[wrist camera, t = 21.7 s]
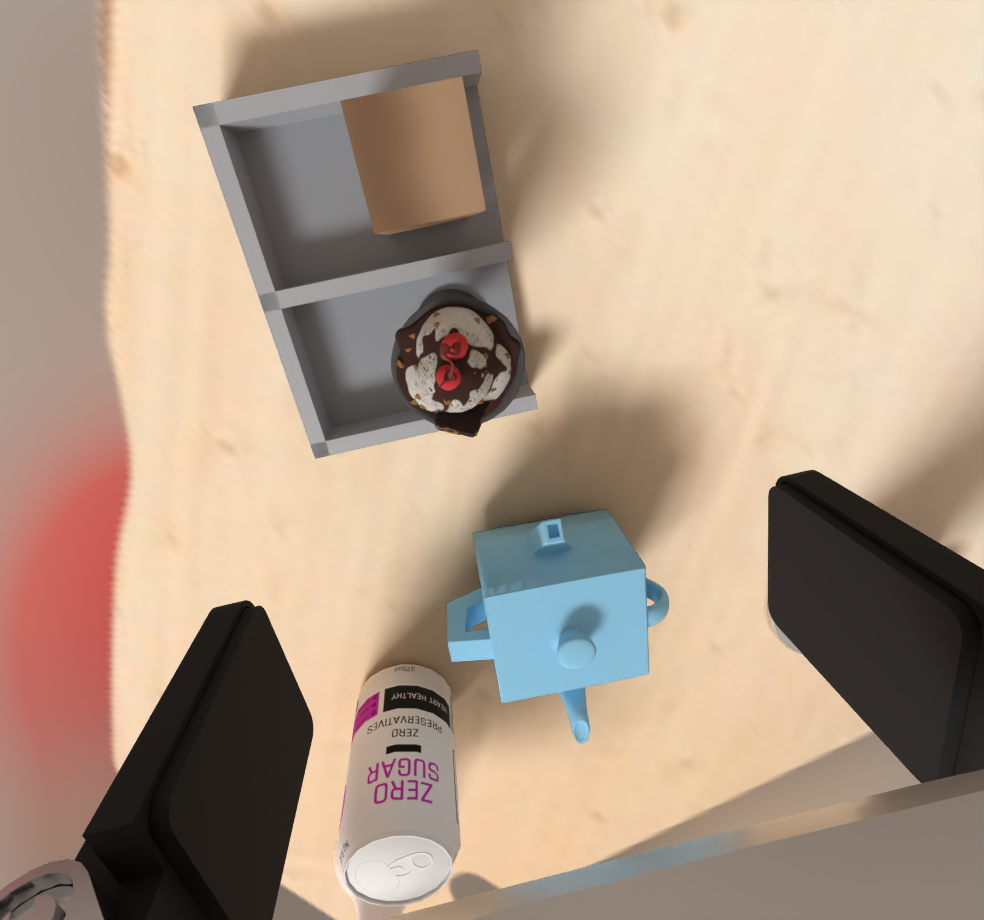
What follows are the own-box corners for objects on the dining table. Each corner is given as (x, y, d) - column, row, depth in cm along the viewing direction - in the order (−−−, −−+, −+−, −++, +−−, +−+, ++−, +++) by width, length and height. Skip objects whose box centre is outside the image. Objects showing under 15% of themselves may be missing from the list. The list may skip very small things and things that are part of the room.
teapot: (626, 452, 43) (691, 520, 32) (635, 634, 50) (691, 738, 39) (426, 487, 42) (427, 569, 32) (463, 667, 49) (474, 783, 39)
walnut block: (449, 127, 32) (462, 76, 22) (467, 218, 34) (486, 210, 24) (366, 144, 32) (339, 100, 22) (388, 234, 34) (374, 233, 24)
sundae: (435, 252, 34) (437, 278, 21) (521, 314, 37) (573, 373, 23) (381, 340, 36) (350, 415, 23) (465, 393, 38) (483, 492, 25)
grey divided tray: (471, 71, 32) (477, 49, 29) (527, 393, 40) (537, 408, 36) (219, 121, 32) (192, 106, 28) (325, 438, 40) (315, 458, 36)
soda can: (385, 741, 51) (371, 927, 37) (342, 680, 48) (309, 859, 34) (465, 708, 51) (480, 884, 37) (427, 644, 48) (429, 811, 34)
